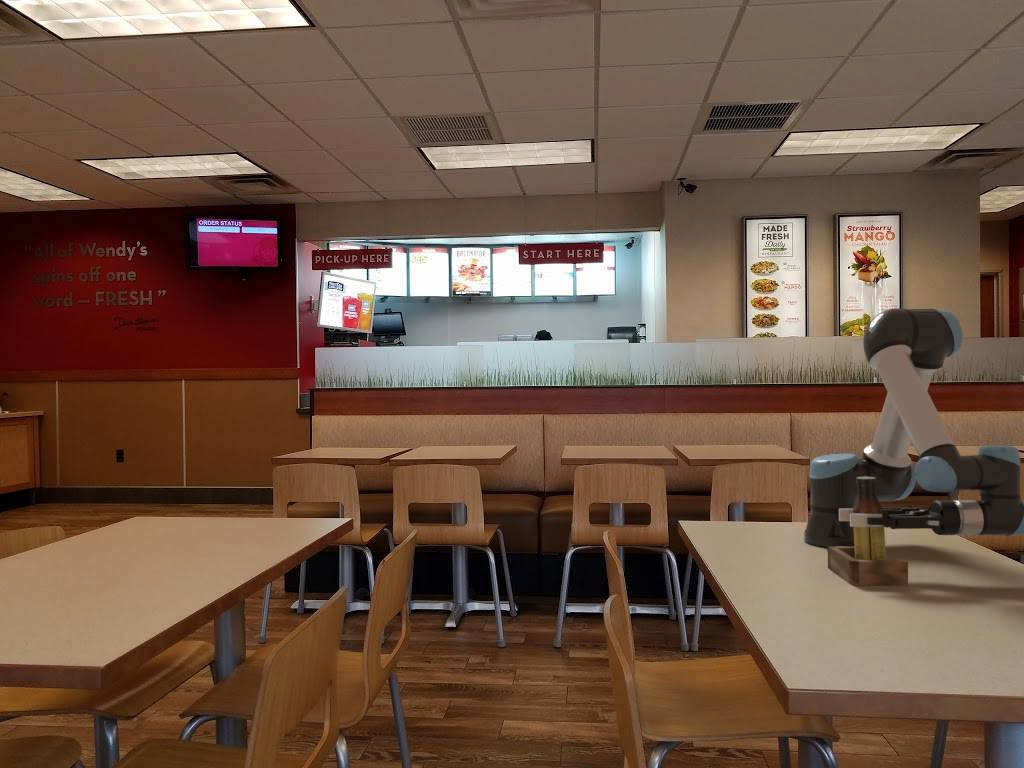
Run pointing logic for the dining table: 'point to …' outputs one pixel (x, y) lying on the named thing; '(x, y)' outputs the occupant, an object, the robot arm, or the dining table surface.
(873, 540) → the sauce bottle
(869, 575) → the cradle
